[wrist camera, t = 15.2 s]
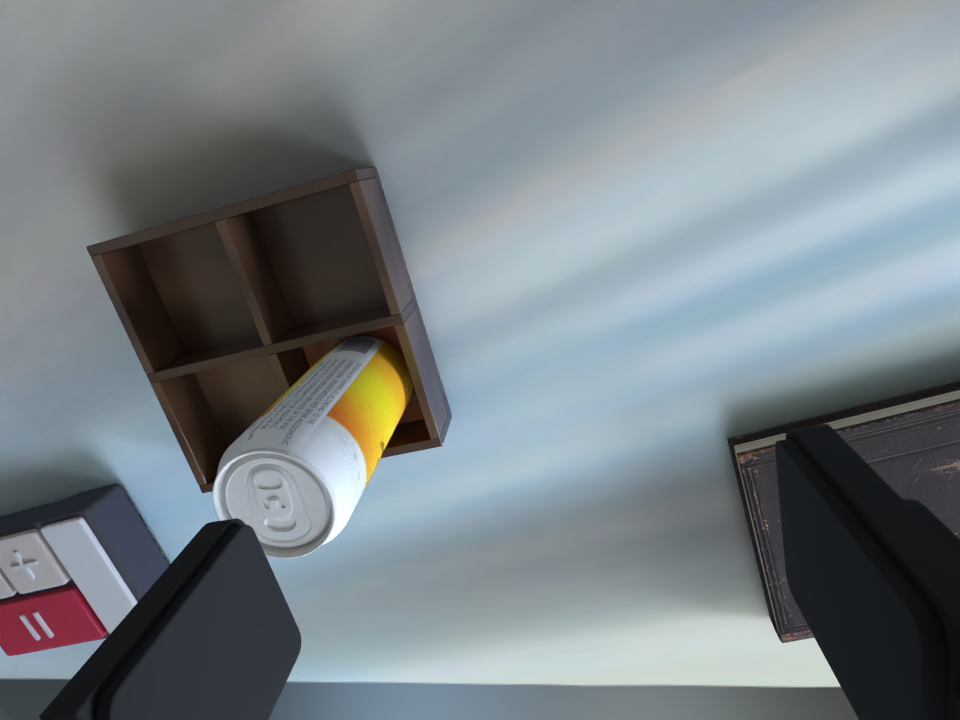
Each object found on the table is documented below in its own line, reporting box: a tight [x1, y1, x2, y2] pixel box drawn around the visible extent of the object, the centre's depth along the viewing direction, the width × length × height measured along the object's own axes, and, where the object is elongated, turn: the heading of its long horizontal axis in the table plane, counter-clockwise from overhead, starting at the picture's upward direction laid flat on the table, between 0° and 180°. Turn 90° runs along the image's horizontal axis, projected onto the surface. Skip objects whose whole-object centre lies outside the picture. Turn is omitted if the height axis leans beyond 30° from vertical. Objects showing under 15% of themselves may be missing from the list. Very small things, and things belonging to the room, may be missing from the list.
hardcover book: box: [727, 381, 960, 643], centre depth 38 cm, size 16×23×2 cm
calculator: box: [0, 484, 169, 656], centre depth 46 cm, size 11×4×15 cm
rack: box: [87, 167, 452, 493], centre depth 37 cm, size 17×17×4 cm
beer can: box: [212, 336, 413, 559], centre depth 31 cm, size 6×6×15 cm
